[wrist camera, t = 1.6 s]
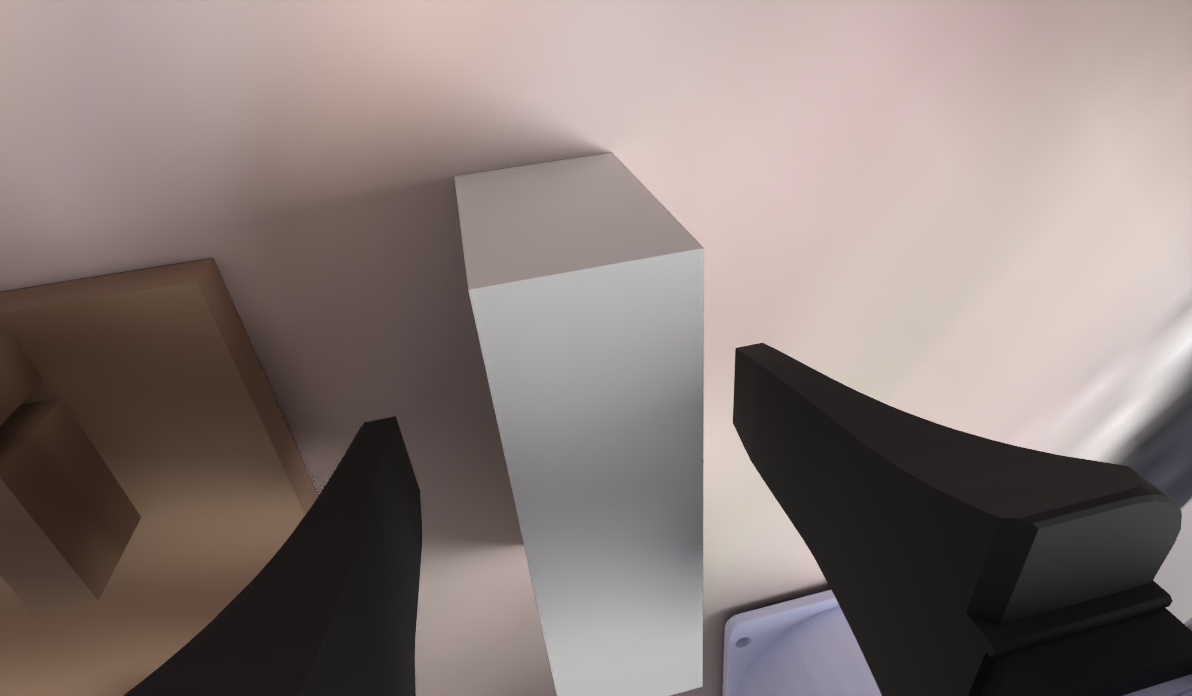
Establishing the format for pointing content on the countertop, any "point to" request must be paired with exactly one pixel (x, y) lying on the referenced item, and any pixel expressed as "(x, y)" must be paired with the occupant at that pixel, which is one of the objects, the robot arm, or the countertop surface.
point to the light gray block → (597, 412)
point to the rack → (131, 475)
